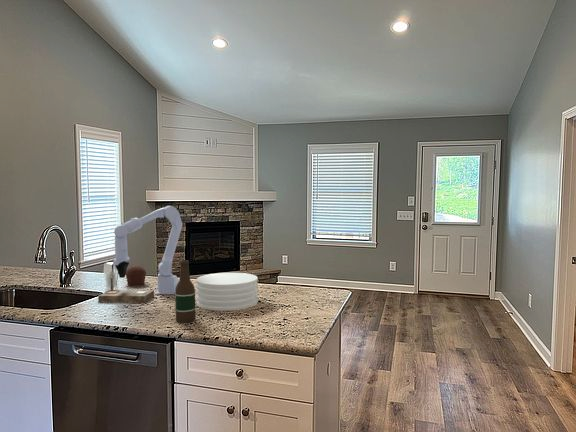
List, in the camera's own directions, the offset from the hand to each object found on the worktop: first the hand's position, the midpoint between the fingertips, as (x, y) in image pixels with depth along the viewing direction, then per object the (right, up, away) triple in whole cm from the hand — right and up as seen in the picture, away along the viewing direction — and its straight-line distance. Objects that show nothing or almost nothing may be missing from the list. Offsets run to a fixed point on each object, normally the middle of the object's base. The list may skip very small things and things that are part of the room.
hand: (122, 277), depth 215 cm
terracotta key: (-3, -9, -5) cm, 11 cm away
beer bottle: (+41, -12, -41) cm, 59 cm away
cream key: (+11, -9, -6) cm, 16 cm away
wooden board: (+4, -10, -6) cm, 12 cm away
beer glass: (-9, -9, +9) cm, 15 cm away
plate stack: (+53, -10, -12) cm, 56 cm away
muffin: (-3, -8, +28) cm, 29 cm away
